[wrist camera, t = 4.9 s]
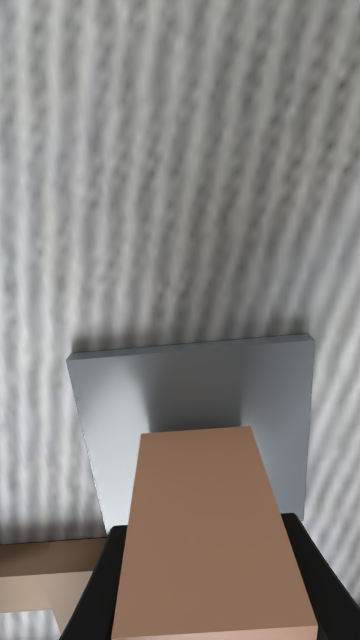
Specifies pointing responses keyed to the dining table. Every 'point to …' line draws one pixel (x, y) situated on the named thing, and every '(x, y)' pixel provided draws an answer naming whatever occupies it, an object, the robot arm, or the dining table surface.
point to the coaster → (195, 407)
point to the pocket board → (47, 575)
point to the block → (208, 545)
